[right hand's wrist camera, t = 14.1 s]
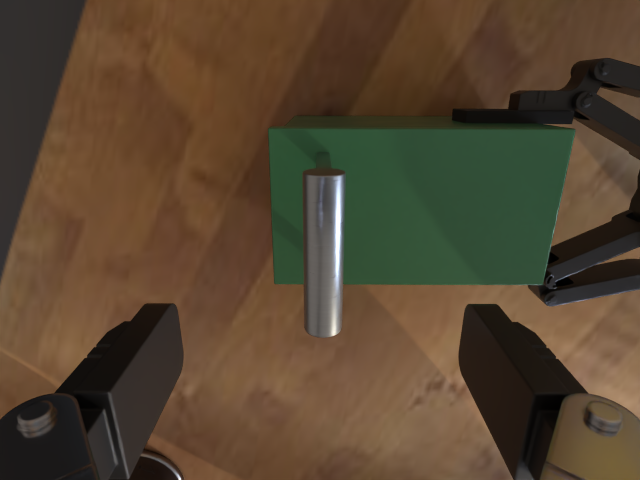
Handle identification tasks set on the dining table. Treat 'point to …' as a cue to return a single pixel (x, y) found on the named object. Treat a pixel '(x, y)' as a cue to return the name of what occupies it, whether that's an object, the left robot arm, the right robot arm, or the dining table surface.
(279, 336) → the dining table surface
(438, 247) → the lid
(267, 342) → the dining table surface
